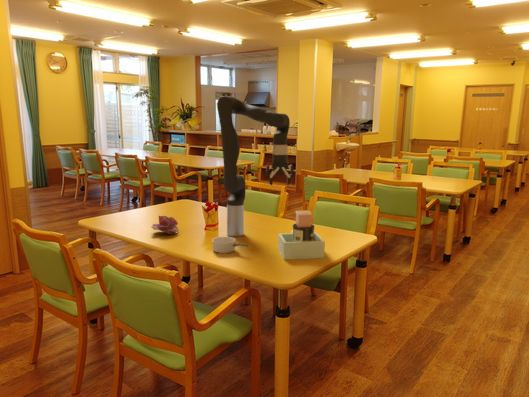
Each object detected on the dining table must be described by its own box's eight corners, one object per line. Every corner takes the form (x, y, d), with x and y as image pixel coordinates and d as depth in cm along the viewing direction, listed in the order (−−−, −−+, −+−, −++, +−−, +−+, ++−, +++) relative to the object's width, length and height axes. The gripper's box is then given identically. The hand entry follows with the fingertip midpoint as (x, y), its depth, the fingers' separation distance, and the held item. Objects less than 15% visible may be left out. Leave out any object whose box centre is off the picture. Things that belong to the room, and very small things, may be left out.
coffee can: (314, 251, 202) (315, 223, 200) (312, 258, 192) (313, 228, 190) (293, 249, 204) (294, 222, 202) (290, 256, 194) (291, 227, 192)
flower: (149, 232, 222) (154, 214, 223) (151, 229, 237) (155, 212, 237) (176, 239, 226) (181, 221, 226) (176, 235, 240) (181, 218, 240)
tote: (283, 259, 190) (284, 242, 188) (278, 249, 205) (278, 233, 203) (324, 258, 193) (324, 241, 191) (315, 247, 208) (316, 232, 206)
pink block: (298, 227, 192) (298, 213, 191) (295, 224, 198) (295, 210, 197) (311, 227, 193) (311, 213, 192) (308, 223, 199) (308, 210, 198)
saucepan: (240, 259, 190) (240, 247, 189) (207, 251, 201) (207, 240, 200) (254, 253, 199) (254, 241, 198) (222, 245, 210) (222, 235, 209)
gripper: (267, 154, 205) (266, 186, 208) (295, 154, 207) (294, 186, 210) (265, 153, 213) (265, 184, 216) (292, 152, 215) (291, 183, 218)
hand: (279, 185), depth 213 cm, fingers open, 8 cm apart
